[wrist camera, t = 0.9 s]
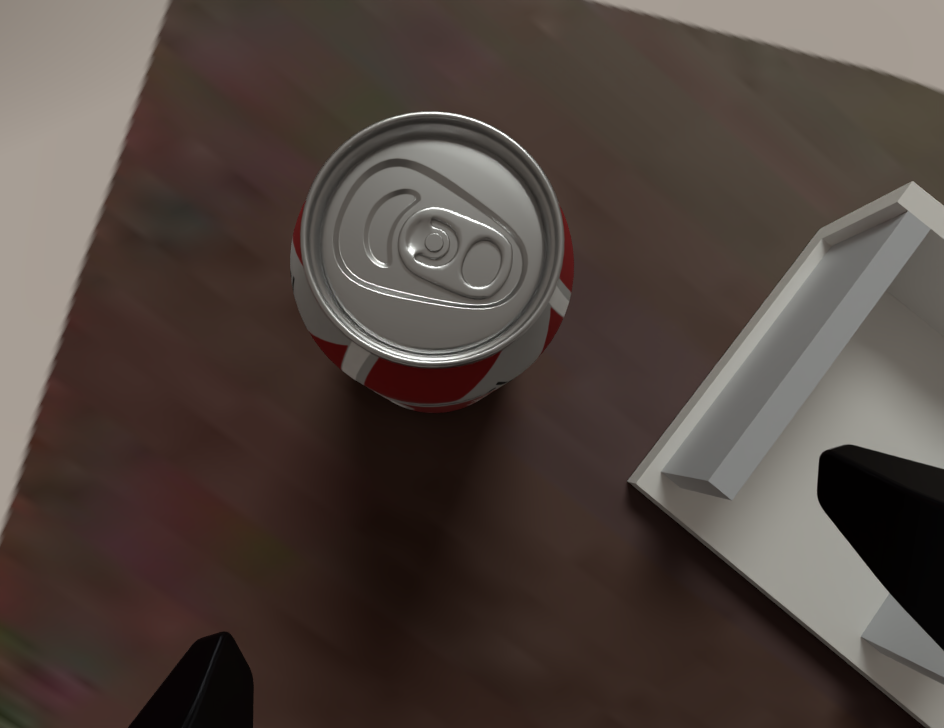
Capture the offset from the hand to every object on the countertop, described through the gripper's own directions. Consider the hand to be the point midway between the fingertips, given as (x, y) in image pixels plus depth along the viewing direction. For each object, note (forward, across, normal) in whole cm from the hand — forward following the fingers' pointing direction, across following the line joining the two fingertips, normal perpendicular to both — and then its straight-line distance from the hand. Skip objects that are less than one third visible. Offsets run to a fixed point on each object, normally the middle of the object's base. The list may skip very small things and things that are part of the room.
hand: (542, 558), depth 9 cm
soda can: (+16, 0, +2) cm, 16 cm away
